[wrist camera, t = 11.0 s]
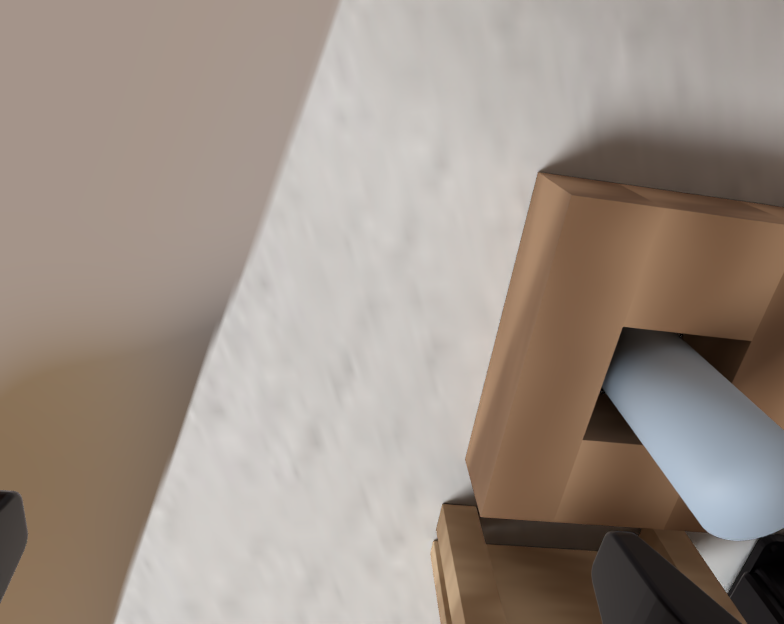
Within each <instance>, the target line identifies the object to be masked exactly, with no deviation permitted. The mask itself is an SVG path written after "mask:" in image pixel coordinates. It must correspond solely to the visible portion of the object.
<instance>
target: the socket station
mask: <svg viewBox="0 0 784 624" xmlns="http://www.w3.org/2000/svg"><path fill="white" fill-rule="evenodd" d="M623 327H630V328H639V329H648V330H657V331H666V332H675V333H684V334H683V336H682V339H683V340H684V341H685V342H686V343H687V344H688V345H689V346H691V347H692V348H693V349H694V350H695V351H696V352H697V353H698V354H699V355H701V356H702V357H703V358H704V359H705V360H706V361H707V362H708V363H709V364H711V365H712V366H713V367H714V368H715V369H716V370H717V371H718V372H719V373H721V374H722V375H723V376H724V377H725V378H726V379H727V380H728V381H730V382H731V383H732V384H733V385H734V386H735V387H736V388H737V389H738V390H740V391H741V392H742V393H743V394H744V395H745V396H746V397H747V398H748V399H750V400H751V401H752V402H753V403H754V404H755V405H756V406H757V407H758V408H760V409H761V410H762V411H763V412H764V413H765V414H766V415H767V416H768V417H770V418H771V419H772V420H773V421H774V422H775V423H776V424H777V425H778V426H780V427H781V428H782V429H783V430H784V207H779V206H772V205H765V204H758V203H751V202H744V201H737V200H730V199H723V198H716V197H709V196H702V195H695V194H688V193H681V192H674V191H667V190H660V189H653V188H646V187H639V186H632V185H625V184H618V183H611V182H604V181H597V180H590V179H583V178H576V177H569V176H562V175H555V174H548V173H541V172H538V174H537V178H536V182H535V186H534V190H533V194H532V198H531V202H530V206H529V210H528V214H527V218H526V222H525V225H524V229H523V233H522V237H521V241H520V245H519V249H518V253H517V257H516V261H515V265H514V269H513V273H512V277H511V281H510V285H509V289H508V292H507V296H506V300H505V304H504V308H503V312H502V316H501V320H500V324H499V328H498V332H497V336H496V340H495V344H494V348H493V352H492V356H491V359H490V363H489V367H488V371H487V375H486V379H485V383H484V387H483V391H482V395H481V399H480V403H479V407H478V411H477V415H476V419H475V423H474V426H473V430H472V434H471V438H470V442H469V446H468V450H467V454H466V458H465V461H466V464H467V468H468V472H469V476H470V480H471V483H472V487H473V491H474V495H475V498H476V502H477V506H478V510H479V513H480V517H486V518H501V519H516V520H530V521H545V522H560V523H574V524H589V525H604V526H618V527H633V528H642V530H641V532H640V534H639V537H640V538H641V539H642V540H643V541H645V542H646V543H647V544H648V545H649V546H651V547H652V548H653V549H654V550H655V551H657V552H658V553H659V554H660V555H661V556H662V557H664V558H665V559H666V560H667V561H668V562H670V563H671V564H672V565H673V566H674V567H676V568H677V569H678V570H679V571H680V572H681V573H683V574H684V575H685V576H686V577H687V578H689V579H690V580H691V581H692V582H693V583H695V584H696V585H697V586H698V587H699V588H700V589H702V590H703V591H704V592H705V593H706V594H708V595H709V596H710V597H711V598H712V599H714V600H715V601H716V602H717V603H718V604H719V605H721V606H722V607H723V608H724V609H725V610H727V611H728V612H729V613H730V614H731V615H733V616H734V617H735V618H736V619H737V620H738V621H740V622H741V623H742V624H747V623H746V621H745V620H744V618H743V617H742V615H741V614H740V612H739V611H738V609H737V608H736V606H735V605H734V603H733V602H732V600H731V599H730V597H729V596H728V595H727V593H726V592H725V590H724V589H723V587H722V586H721V584H720V583H719V581H718V580H717V578H716V577H715V575H714V574H713V572H712V571H711V570H710V568H709V567H708V565H707V564H706V562H705V561H704V559H703V558H702V556H701V555H700V553H699V552H698V550H697V549H696V547H695V546H694V544H693V543H692V542H691V540H690V539H689V537H688V536H687V534H686V533H685V531H691V532H706V533H709V532H707V531H706V530H705V529H704V528H703V527H702V525H701V524H700V523H699V521H698V520H697V519H696V517H695V516H694V514H693V513H692V512H691V510H690V509H689V508H688V506H687V505H686V503H685V502H684V501H683V499H682V498H681V496H680V495H679V494H678V492H677V491H676V490H675V488H674V487H673V485H672V484H671V483H670V481H669V480H668V478H667V477H666V476H665V474H664V473H663V471H662V470H661V469H660V467H659V466H658V465H657V463H656V462H655V460H654V459H653V458H652V456H651V455H650V453H649V452H648V451H647V449H646V448H645V447H644V445H643V444H642V442H641V441H640V440H639V438H638V437H637V435H636V434H635V433H634V431H633V430H632V428H631V427H630V426H629V424H628V423H627V422H626V420H625V419H624V417H623V416H622V415H621V413H620V412H619V410H618V409H617V408H616V406H615V405H614V404H613V402H612V401H611V399H610V398H609V397H608V395H607V394H599V393H600V390H601V387H602V384H603V381H604V378H605V376H606V373H607V370H608V367H609V364H610V362H611V359H612V356H613V353H614V350H615V348H616V345H617V342H618V339H619V336H620V334H621V331H622V328H623ZM436 531H437V537H438V541H433V545H432V549H431V553H430V554H431V561H432V568H433V575H434V581H435V588H436V595H437V602H438V608H439V615H440V622H441V624H602V620H601V615H600V611H599V607H598V603H597V599H596V595H595V591H594V587H593V583H592V576H591V571H592V565H593V562H594V560H595V558H596V555H597V553H598V551H588V550H572V549H556V548H540V547H524V546H508V545H492V544H486V543H485V539H484V535H483V531H482V528H481V524H480V520H479V516H478V512H477V509H476V506H465V505H451V504H442V508H441V512H440V516H439V520H438V524H437V528H436Z"/></svg>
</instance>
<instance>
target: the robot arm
mask: <svg viewBox="0 0 784 624" xmlns="http://www.w3.org/2000/svg"><path fill="white" fill-rule="evenodd" d="M27 537H28V531H27V525H26V519H25V513H24V506H23V501H22V497H21V495H20V494H19V493H18V492H15V491H6V490H0V603H1V600H2V598H3V596H4V594H5V591H6V589H7V587H8V585H9V583H10V581H11V578H12V576H13V574H14V572H15V569H16V567H17V565H18V563H19V560H20V558H21V556H22V554H23V552H24V549H25V546H26V543H27ZM591 576H592V583H593V587H594V591H595V595H596V599H597V603H598V607H599V611H600V615H601V620H602V624H742V623H741V622H740V621H738V620H737V619H736V618H735V617H734V616H733V615H731V614H730V613H729V612H728V611H727V610H725V609H724V608H723V607H722V606H721V605H719V604H718V603H717V602H716V601H715V600H714V599H712V598H711V597H710V596H709V595H708V594H706V593H705V592H704V591H703V590H702V589H700V588H699V587H698V586H697V585H696V584H695V583H693V582H692V581H691V580H690V579H689V578H687V577H686V576H685V575H684V574H683V573H681V572H680V571H679V570H678V569H677V568H676V567H674V566H673V565H672V564H671V563H670V562H668V561H667V560H666V559H665V558H664V557H662V556H661V555H660V554H659V553H658V552H657V551H655V550H654V549H653V548H652V547H651V546H649V545H648V544H647V543H646V542H645V541H643V540H642V539H641V538H640V537H639V536H637V535H636V534H634V533H632V532H625V531H609V532H608V533H606V534H605V536H604V538H603V541H602V543H601V545H600V548H599V550H598V553H597V555H596V558H595V560H594V562H593V565H592V571H591ZM728 596H729V597H730V599H731V600H732V602H733V603H734V605H735V606H736V608H737V609H738V611H739V612H740V614H741V615H742V617H743V618H744V620H745V621H746V623H747V624H784V535H774V534H771V535H767V536H764V537H762V538H761V539H760V540H759V541H758V542H757V544H756V546H755V548H754V549H753V551H752V553H751V555H750V556H749V558H748V560H747V562H746V563H745V565H744V567H743V569H742V570H741V572H740V574H739V576H738V577H737V579H736V581H735V583H734V585H733V586H732V588H731V590H730V592H729V593H728Z"/></svg>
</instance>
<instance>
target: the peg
mask: <svg viewBox="0 0 784 624" xmlns="http://www.w3.org/2000/svg"><path fill="white" fill-rule="evenodd" d="M602 388H603V390H604V391H605V392H606V394H607V395H608V397H609V398H610V399H611V401H612V402H613V404H614V405H615V406H616V408H617V409H618V410H619V412H620V413H621V415H622V416H623V417H624V419H625V420H626V422H627V423H628V424H629V426H630V427H631V428H632V430H633V431H634V433H635V434H636V435H637V437H638V438H639V440H640V441H641V442H642V444H643V445H644V447H645V448H646V449H647V451H648V452H649V453H650V455H651V456H652V458H653V459H654V460H655V462H656V463H657V465H658V466H659V467H660V469H661V470H662V471H663V473H664V474H665V476H666V477H667V478H668V480H669V481H670V483H671V484H672V485H673V487H674V488H675V490H676V491H677V492H678V494H679V495H680V496H681V498H682V499H683V501H684V502H685V503H686V505H687V506H688V508H689V509H690V510H691V512H692V513H693V514H694V516H695V517H696V519H697V520H698V521H699V523H700V524H701V525H702V527H703V528H704V529H705V530H706V531H707V532H709V533H710V534H712V535H714V536H716V537H719V538H722V539H726V540H737V541H741V540H751V539H756V538H760V537H764V536H767V535H769V534H772V533H774V532H776V531H779V530H781V529H782V528H784V430H783V429H782V428H781V427H780V426H778V425H777V424H776V423H775V422H774V421H773V420H772V419H771V418H770V417H768V416H767V415H766V414H765V413H764V412H763V411H762V410H761V409H760V408H758V407H757V406H756V405H755V404H754V403H753V402H752V401H751V400H750V399H748V398H747V397H746V396H745V395H744V394H743V393H742V392H741V391H740V390H738V389H737V388H736V387H735V386H734V385H733V384H732V383H731V382H730V381H728V380H727V379H726V378H725V377H724V376H723V375H722V374H721V373H719V372H718V371H717V370H716V369H715V368H714V367H713V366H712V365H711V364H709V363H708V362H707V361H706V360H705V359H704V358H703V357H702V356H701V355H699V354H698V353H697V352H696V351H695V350H694V349H693V348H692V347H691V346H689V345H688V344H687V343H686V342H685V341H684V340H683V339H682V338H681V337H679V336H678V335H677V334H676V333H675V332H666V331H657V330H648V329H639V328H630V327H623V328H622V331H621V334H620V336H619V339H618V342H617V345H616V348H615V350H614V353H613V356H612V359H611V362H610V364H609V367H608V370H607V373H606V376H605V378H604V381H603V384H602Z"/></svg>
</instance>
